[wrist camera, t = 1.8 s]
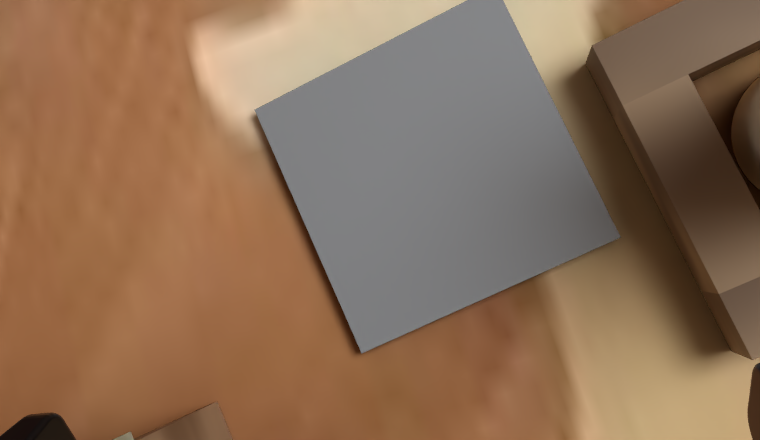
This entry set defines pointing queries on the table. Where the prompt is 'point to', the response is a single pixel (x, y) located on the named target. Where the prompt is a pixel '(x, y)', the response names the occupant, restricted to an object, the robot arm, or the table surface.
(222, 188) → the table surface
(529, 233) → the mat
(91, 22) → the table surface
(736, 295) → the brown square frame
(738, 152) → the key peg
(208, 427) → the toolbox
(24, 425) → the robot arm
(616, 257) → the table surface
